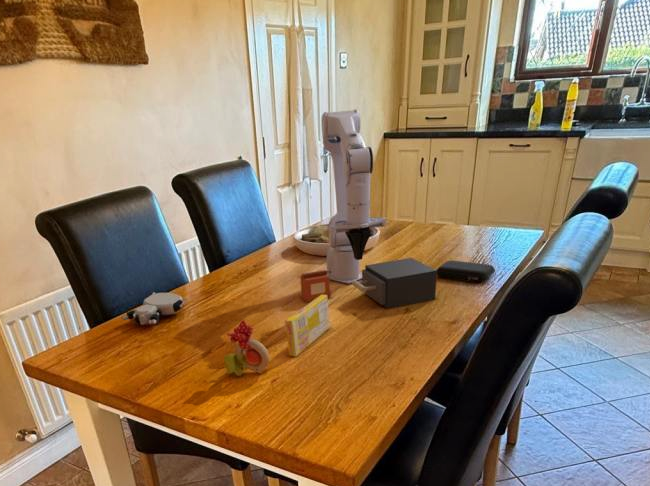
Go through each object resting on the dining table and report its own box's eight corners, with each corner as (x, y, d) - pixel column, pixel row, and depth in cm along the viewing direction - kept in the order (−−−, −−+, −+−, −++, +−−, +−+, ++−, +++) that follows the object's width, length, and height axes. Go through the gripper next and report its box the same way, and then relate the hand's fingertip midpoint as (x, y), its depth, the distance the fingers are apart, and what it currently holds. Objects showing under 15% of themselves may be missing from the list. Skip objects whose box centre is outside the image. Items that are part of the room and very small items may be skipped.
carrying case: (431, 279, 145) (484, 286, 138) (432, 268, 144) (485, 274, 136) (445, 268, 153) (496, 274, 145) (446, 258, 151) (497, 263, 143)
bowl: (277, 253, 180) (275, 230, 176) (322, 233, 200) (321, 212, 196) (353, 262, 164) (353, 237, 160) (393, 240, 185) (394, 217, 181)
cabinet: (386, 308, 129) (387, 279, 125) (365, 292, 140) (365, 265, 136) (435, 299, 132) (437, 270, 128) (409, 284, 143) (411, 257, 139)
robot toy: (157, 334, 127) (193, 309, 137) (152, 318, 125) (189, 293, 135) (121, 328, 133) (158, 304, 143) (115, 312, 130) (154, 289, 140)
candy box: (322, 327, 122) (320, 293, 117) (330, 328, 121) (329, 294, 116) (287, 355, 110) (284, 319, 106) (295, 357, 109) (293, 320, 105)
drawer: (366, 307, 128) (366, 285, 125) (347, 293, 138) (347, 272, 135) (426, 296, 131) (427, 274, 128) (403, 283, 141) (404, 262, 138)
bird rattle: (267, 374, 108) (229, 355, 108) (283, 331, 101) (242, 311, 102) (255, 389, 103) (216, 369, 104) (271, 345, 96) (229, 324, 97)
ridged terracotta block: (306, 302, 137) (305, 276, 133) (301, 297, 140) (299, 272, 137) (330, 298, 138) (329, 272, 134) (324, 293, 142) (323, 268, 138)
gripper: (336, 209, 120) (337, 267, 127) (392, 201, 123) (390, 258, 130) (325, 204, 126) (327, 259, 133) (379, 197, 129) (378, 251, 136)
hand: (358, 258), depth 132 cm, fingers closed
